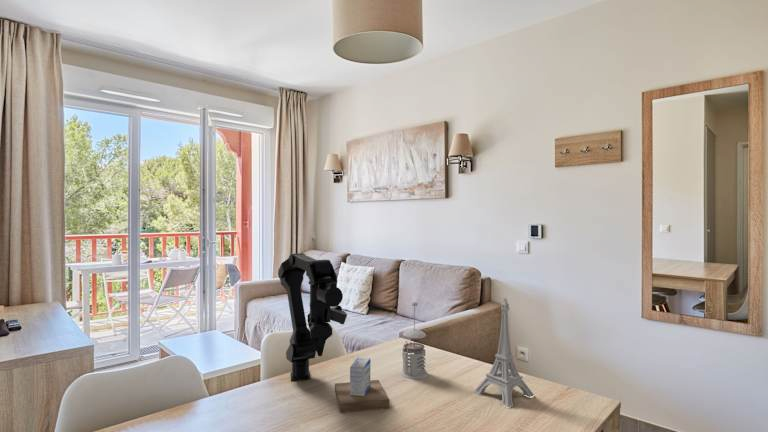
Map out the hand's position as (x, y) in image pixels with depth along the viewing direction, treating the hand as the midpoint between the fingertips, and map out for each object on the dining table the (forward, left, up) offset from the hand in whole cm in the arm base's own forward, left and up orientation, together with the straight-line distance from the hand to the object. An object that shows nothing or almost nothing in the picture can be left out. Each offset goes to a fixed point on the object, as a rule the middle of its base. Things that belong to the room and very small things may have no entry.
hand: (318, 351), depth 127 cm
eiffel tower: (+13, +56, -13) cm, 59 cm away
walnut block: (+7, +12, -13) cm, 19 cm away
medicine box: (+7, +12, -11) cm, 17 cm away
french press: (-8, +33, -13) cm, 36 cm away
